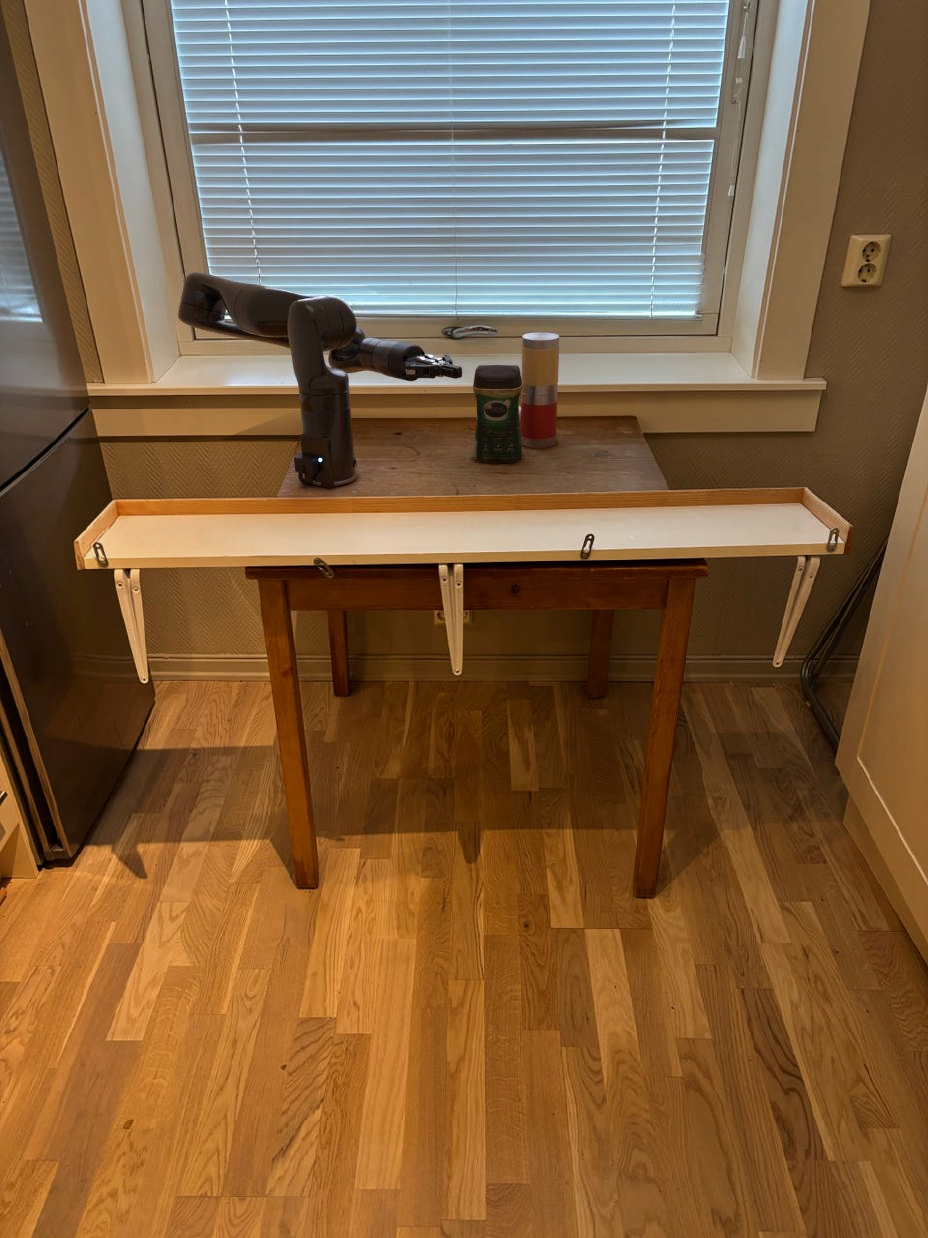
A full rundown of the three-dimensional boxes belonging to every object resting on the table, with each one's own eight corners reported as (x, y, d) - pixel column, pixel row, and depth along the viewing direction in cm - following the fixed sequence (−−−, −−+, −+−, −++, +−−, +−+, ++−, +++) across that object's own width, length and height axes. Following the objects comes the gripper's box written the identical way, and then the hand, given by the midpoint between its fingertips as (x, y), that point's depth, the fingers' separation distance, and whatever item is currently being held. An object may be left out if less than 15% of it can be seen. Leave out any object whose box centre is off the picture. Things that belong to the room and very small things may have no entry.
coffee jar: (522, 452, 187) (524, 360, 178) (520, 465, 180) (521, 370, 171) (475, 451, 188) (475, 360, 179) (471, 463, 181) (470, 369, 172)
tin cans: (546, 450, 188) (549, 341, 177) (514, 445, 191) (515, 337, 181) (561, 440, 194) (565, 334, 183) (529, 435, 197) (532, 330, 186)
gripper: (421, 371, 199) (481, 385, 189) (377, 383, 190) (437, 398, 180) (419, 336, 195) (481, 348, 185) (375, 347, 187) (436, 360, 176)
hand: (459, 372), depth 183 cm, fingers closed
